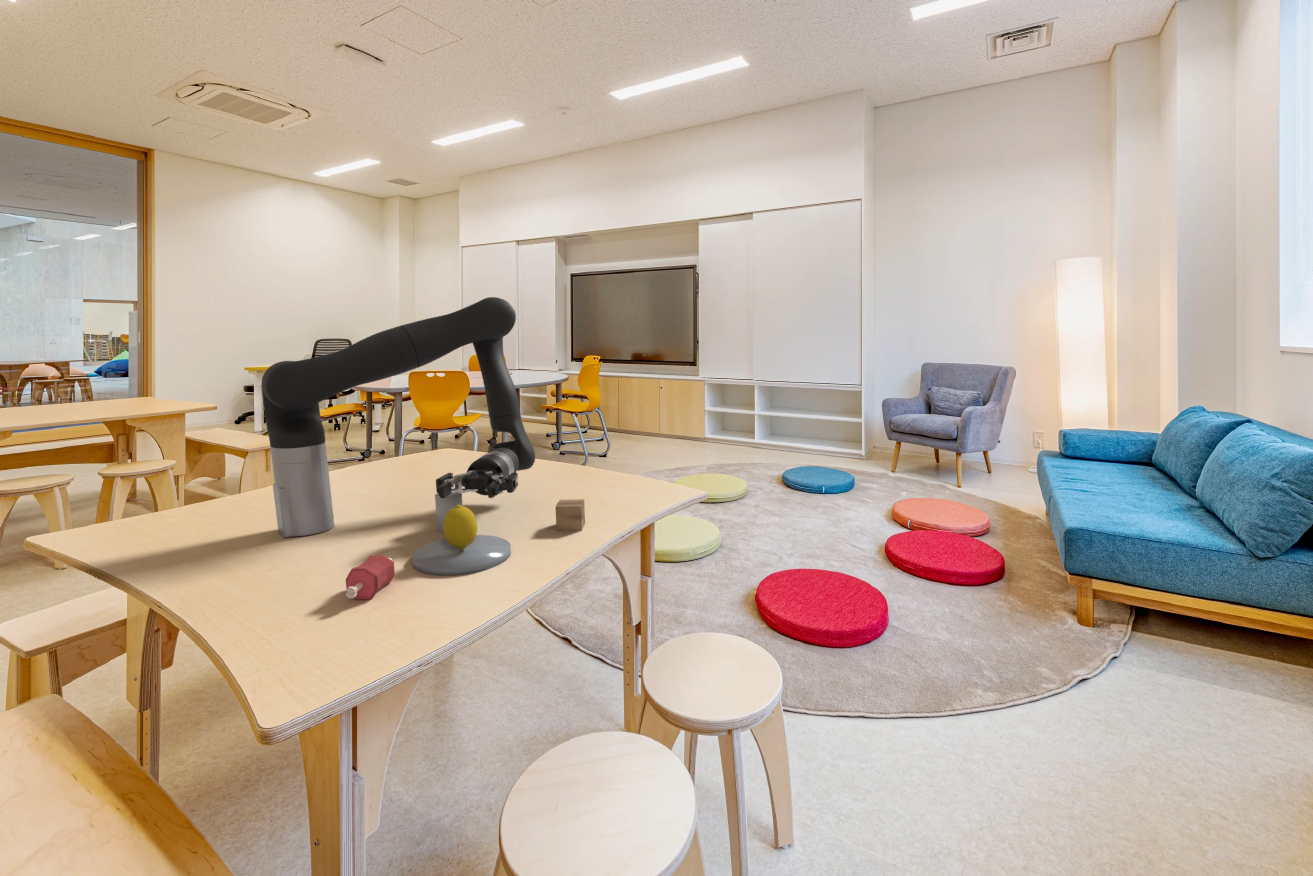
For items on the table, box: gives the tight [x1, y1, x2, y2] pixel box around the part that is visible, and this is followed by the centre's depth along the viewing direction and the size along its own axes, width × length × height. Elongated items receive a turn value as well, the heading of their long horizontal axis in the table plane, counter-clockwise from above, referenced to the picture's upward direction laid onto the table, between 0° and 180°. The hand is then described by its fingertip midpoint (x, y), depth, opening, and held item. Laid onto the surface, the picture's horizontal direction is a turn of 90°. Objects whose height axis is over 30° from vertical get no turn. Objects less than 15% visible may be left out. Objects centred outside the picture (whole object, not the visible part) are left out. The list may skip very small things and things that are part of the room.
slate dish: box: [412, 534, 512, 576], centre depth 102 cm, size 16×16×1 cm
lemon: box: [442, 505, 478, 550], centre depth 101 cm, size 6×6×8 cm
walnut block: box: [555, 498, 586, 532], centre depth 117 cm, size 5×5×5 cm
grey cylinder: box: [434, 492, 464, 533], centre depth 117 cm, size 5×5×7 cm
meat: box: [345, 554, 396, 600], centre depth 88 cm, size 12×5×5 cm, turn 178°
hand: (466, 492), depth 104 cm, fingers open, 8 cm apart
